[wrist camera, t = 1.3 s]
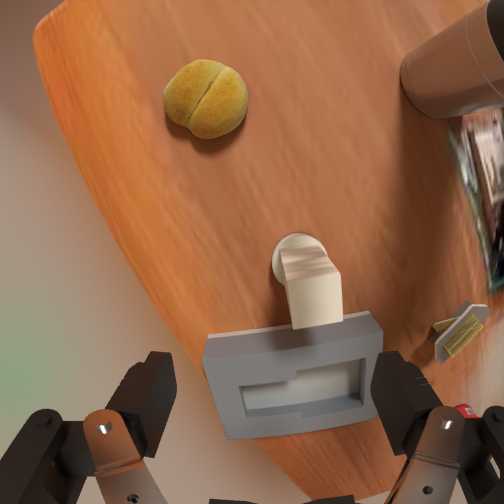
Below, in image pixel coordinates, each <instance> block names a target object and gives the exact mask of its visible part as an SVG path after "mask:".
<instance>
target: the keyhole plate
mask: <svg viewBox="0 0 504 504" xmlns="http://www.w3.org/2000/svg"><path fill="white" fill-rule="evenodd" d="M383 332H384V331H383V330H382V329H381V327H380V326H379V324H378V323H377V322H376V320H375V319H374V317H373V316H372V315H371V313H370V312H369V310H367V311H362V312H357V313H352V314H347V315H343V321H342V322H336V323H331V324H325V325H319V326H313V327H307V328H301V329H294V330H293V326H292V324H288V325H281V326H274V327H267V328H259V329H252V330H244V331H236V332H227V333H218V334H209V335H208V338H207V341H206V345H205V348H204V351H203V355H202V358H201V360H202V364H203V367H204V370H205V374H206V377H207V380H208V383H209V386H210V390H211V392H212V396H213V399H214V402H215V405H216V408H217V411H218V414H219V417H220V420H221V423H222V426H223V428H224V431H225V434H226V437H227V440H239V439H253V438H264V437H274V436H283V435H291V434H298V433H305V432H311V431H317V430H323V429H329V428H334V427H339V426H344V425H349V424H353V423H358V422H362V421H366V420H370V419H374V418H377V409H376V407H375V405H374V402H373V400H372V397H371V392H370V386H371V380H372V376H373V372H374V368H375V364H376V360H377V356H378V354H379V353H380V352H383Z"/></svg>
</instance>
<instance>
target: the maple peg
mask: <svg viewBox="0 0 504 504" xmlns="http://www.w3.org/2000/svg"><path fill="white" fill-rule="evenodd" d="M272 268H273V272H274V275H275V277H276V278H277V280H278V281H279V282H280V283H281V284H282V285H283V286H285V290H286V295H287V300H288V305H289V310H290V315H291V321H292V326H293V330H294V329H301V328H307V327H313V326H319V325H325V324H331V323H336V322H342V321H343V308H342V291H341V276H340V273H339V271H338V270H337V269H336V267H335V266H334V265H333V263H332V262H331V261H330V259H329V258H328V256H327V252H326V250H325V249H324V247H323V246H322V244H321V243H320V242H319V241H318V240H317V239H316V238H315V237H313V236H312V235H310V234H307V233H303V232H295V233H291V234H288V235H286V236H284V237H283V238H282V239H280V240H279V242H278V243H277V244H276V246H275V247H274V249H273V252H272Z"/></svg>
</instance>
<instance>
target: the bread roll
mask: <svg viewBox="0 0 504 504" xmlns="http://www.w3.org/2000/svg"><path fill="white" fill-rule="evenodd" d="M163 97H164V100H163V105H164V109H165V112H166V113H167V115H168V116H169V117H170V119H171V120H172V121H174V122H175V123H177V124H179V125H181V126H185V127H187V128H189V129H190V130H191V132H192V133H193V134H194V135H195V136H196V137H198V138H202V139H212V138H216V137H219V136H223V135H225V134H227V133H229V132H230V131H232V130H234V129H235V128H236V127H237V126H239V124H240V123H241V122H242V120H243V119H244V117H245V114H246V110H247V105H248V92H247V88H246V85H245V83H244V81H243V79H242V78H241V76H240V75H239V74H238V73H237V72H236V71H235V70H233V69H232V68H230V67H228V66H225V65H223V64H221V63H219V62H217V61H212V60H197V61H193V62H191V63H190V64H188V65H186V66H185V67H184V68H182V69H181V70H180V71H179V72H177V73H176V75H175V76H174V77H173V78H172V80H171V81H170V82H169V84H168V85H167V86H166V88H165V90H164V92H163Z"/></svg>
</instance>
